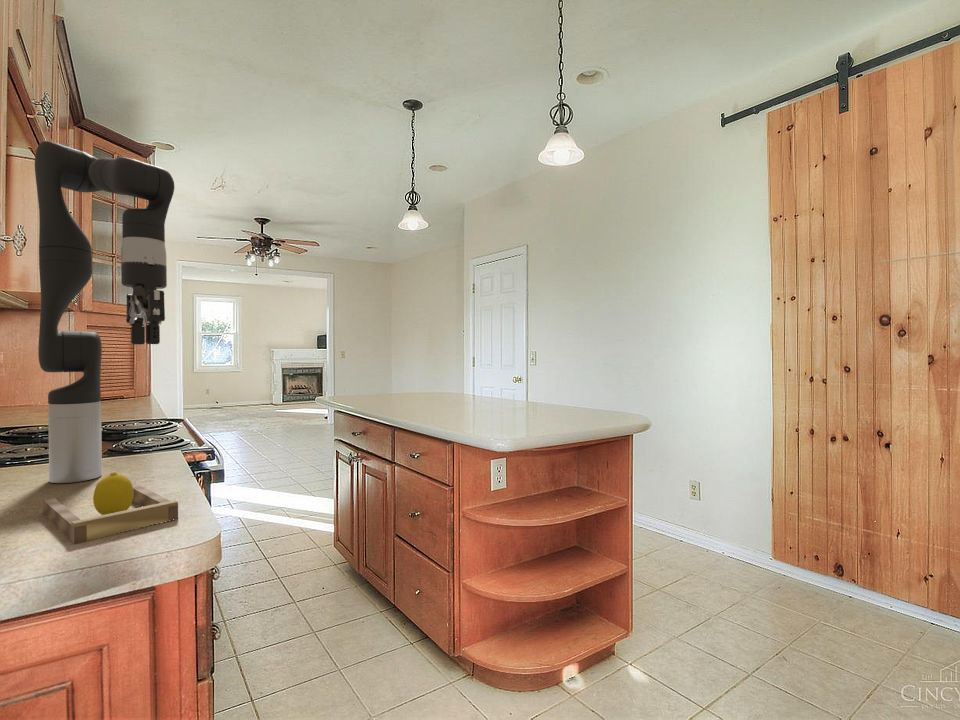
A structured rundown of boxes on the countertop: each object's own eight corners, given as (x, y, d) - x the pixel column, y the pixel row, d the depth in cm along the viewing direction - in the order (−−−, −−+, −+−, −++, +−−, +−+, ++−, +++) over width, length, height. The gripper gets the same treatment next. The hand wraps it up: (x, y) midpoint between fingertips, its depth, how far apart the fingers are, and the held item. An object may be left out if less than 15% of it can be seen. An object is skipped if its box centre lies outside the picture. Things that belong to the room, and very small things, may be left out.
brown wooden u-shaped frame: (42, 513, 88) (42, 496, 88) (135, 495, 98) (135, 480, 98) (74, 543, 74) (73, 523, 74) (178, 519, 85) (178, 501, 85)
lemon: (112, 525, 81) (112, 477, 81) (84, 523, 82) (84, 475, 82) (141, 515, 86) (141, 469, 86) (115, 512, 88) (115, 467, 87)
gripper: (110, 264, 101) (111, 344, 101) (134, 256, 92) (135, 343, 92) (153, 269, 107) (153, 344, 107) (178, 261, 98) (179, 344, 98)
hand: (145, 344), depth 100 cm, fingers open, 8 cm apart
